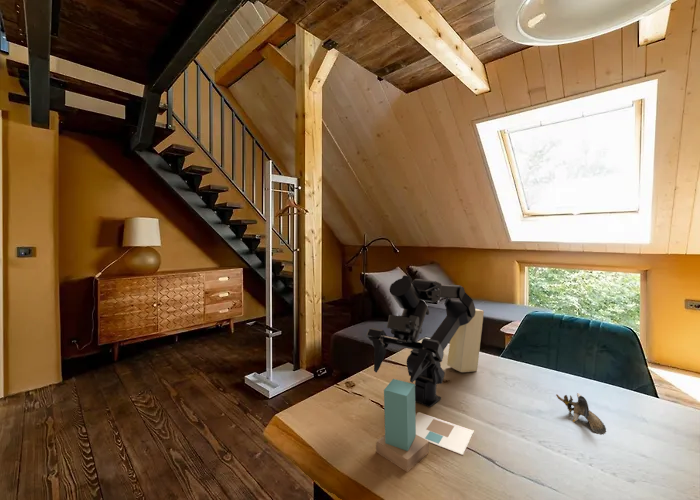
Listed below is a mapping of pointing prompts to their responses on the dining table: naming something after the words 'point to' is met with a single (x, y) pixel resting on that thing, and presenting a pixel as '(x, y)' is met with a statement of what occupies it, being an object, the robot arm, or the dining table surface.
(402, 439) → the teal brick
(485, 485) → the dining table surface
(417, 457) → the walnut base brick
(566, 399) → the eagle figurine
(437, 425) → the page
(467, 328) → the cream tall rectangular block
